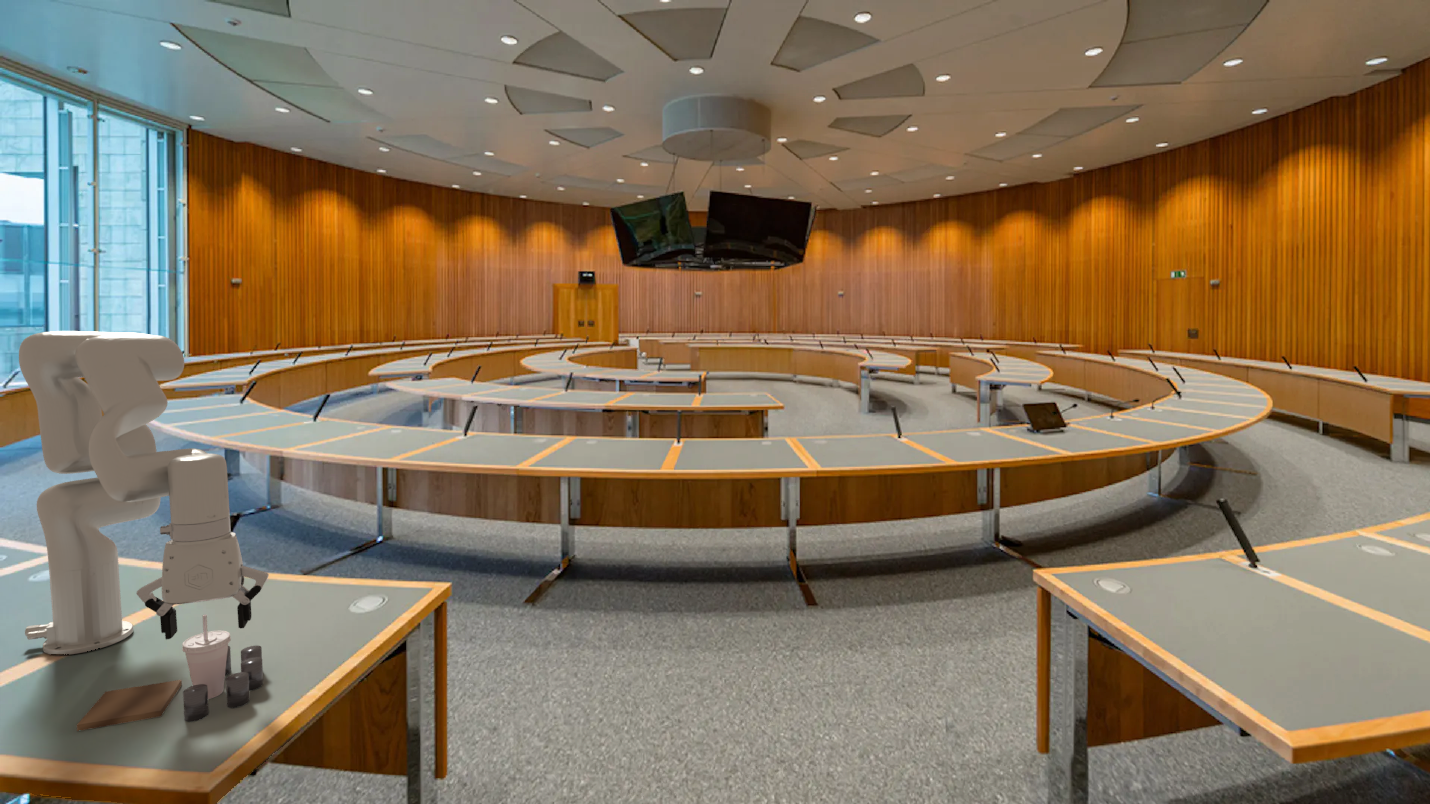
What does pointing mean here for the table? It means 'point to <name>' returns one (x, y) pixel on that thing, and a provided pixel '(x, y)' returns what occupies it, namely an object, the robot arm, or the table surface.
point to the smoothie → (207, 658)
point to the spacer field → (227, 685)
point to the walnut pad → (130, 705)
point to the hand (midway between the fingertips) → (208, 630)
